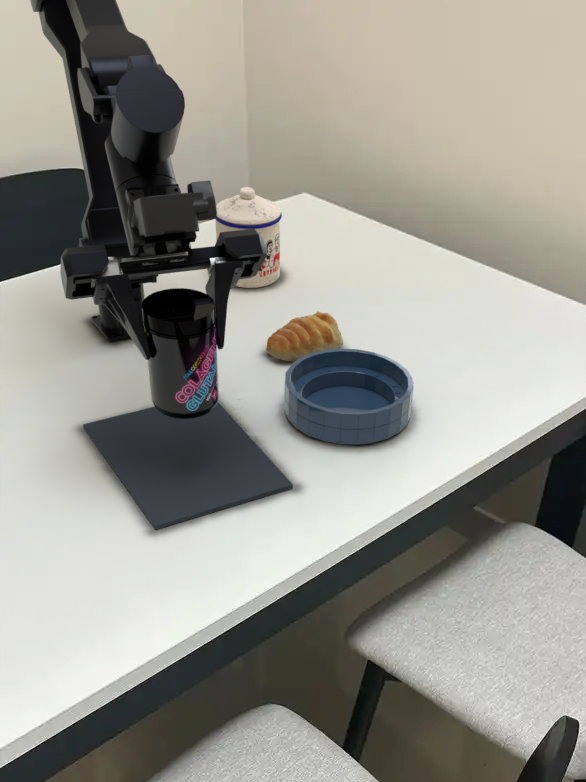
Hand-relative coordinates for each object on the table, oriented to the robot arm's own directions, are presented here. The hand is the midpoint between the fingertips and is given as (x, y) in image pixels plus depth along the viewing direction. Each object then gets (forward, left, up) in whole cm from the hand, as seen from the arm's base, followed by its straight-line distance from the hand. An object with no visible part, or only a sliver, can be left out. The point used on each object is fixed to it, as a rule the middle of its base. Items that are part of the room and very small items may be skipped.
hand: (185, 353), depth 90 cm
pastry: (-17, +23, -13) cm, 32 cm away
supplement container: (-1, 0, -6) cm, 7 cm away
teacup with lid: (-40, +27, -13) cm, 51 cm away
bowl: (-2, +20, -13) cm, 24 cm away
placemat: (-2, 0, -13) cm, 14 cm away
